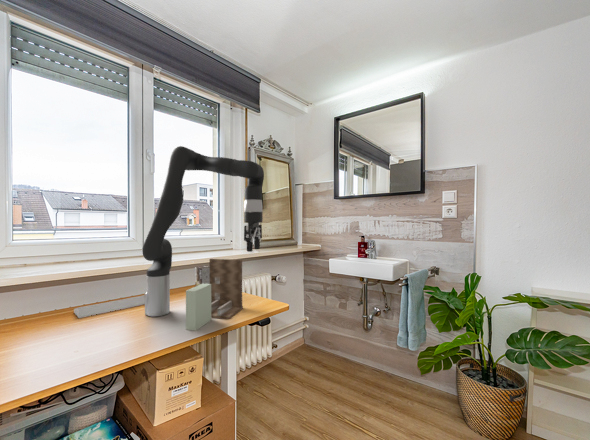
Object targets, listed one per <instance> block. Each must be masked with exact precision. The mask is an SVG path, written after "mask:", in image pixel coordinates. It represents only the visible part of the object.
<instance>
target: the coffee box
mask: <svg viewBox="0 0 590 440" xmlns="http://www.w3.org/2000/svg"><path fill="white" fill-rule="evenodd" d="M194 280H195V281H194V285H195V286H194V287H196V286H198V285H200V284H210V265H199V266H198V265H197V266H194Z"/></svg>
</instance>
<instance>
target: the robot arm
mask: <svg viewBox="0 0 590 440" xmlns="http://www.w3.org/2000/svg"><path fill="white" fill-rule="evenodd" d="M186 171H206V172H213V173H215V174H219V175H220V174H221V175H226V176H230V177H231V176H232V177H241V178H244V179H247V182H248V183H247V186H246V187H245V189H244V204H243V214H244V215H243V221H244V223H245V224H246V223H247V225H244V227H243V228H244V229H243V241H244V242H246V251H247V252H248V253H249V252H250V253H251V252H253V250H259V249H260V248H261V244H260V243H261V242H260V241H261V239H262V238H263V234H262V230H263V229H262V228H263V227H262V224H261V223H263V219H264V218H263V215H264V214H263V213H264V212H263V211H264V210H263V185H264V180H265V172H264V171H265V170H264V168H263V166H262V165H260V164H259V163H257V162H255V161H251V160H245V159H244V160H242V159H239V160H238V159H235V158H231V157H230V158H229V157H224V156H223V157H221V156H217V157H216V156H215V157H214V156H209V155H208V156H207V155H205V154H201V153H198V152H196V151H194V150H192V149H191V148H188V147H186V146H181V145H180V146H176V147H175V148H174V149H173V151H172V152H171V155H170V157H169V163H168V168H167V174H166V178H165V181H164V184H163V189H162V191H161V194H160V198H159V201H158V204H157V208H156V211H155V214H154V217H153V220H152V222H151V223H152V224H151V227H150V229H149V231H148V234H147V236H146V239H145V241H144V243H143V246H142V251H141V252H142V256H143V258H144V259H145V260H147V261H148V262H149V261H150V262H152V264H151V266H149V267H148V268H147V270H146V292H145V293H144V295H145V304H144V315H146V316H148V317H161V316H165V315H167V314H169V313H170V312H171V309H170V304H171V303H170V302H171V299H170V298H171V297H170V294H171V293H170V289H171V288H170V287H171V286H170V284H171V283H170V280H171V279H170V274H171V273H170V272H171V269H172V263H173V259H172V258H173V247H172V243H171V242H170V241H169V240H168V239H166V238H165V237H166V235H167V232H168V230H169V229H170V228H171V227H172V225H173V224H174V223H175V221H176V220H177V218H178V217H179V215H180V213H181V209H182V206H183V203H184V192H183V180H184V175H185V172H186ZM259 223H260V224H259ZM253 240H254V241H253ZM253 245H254V247H253ZM253 248H254V249H253Z"/></svg>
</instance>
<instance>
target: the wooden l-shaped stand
mask: <svg viewBox="0 0 590 440" xmlns="http://www.w3.org/2000/svg"><path fill="white" fill-rule="evenodd" d="M209 266H210V284H211V319H222V320H223V319H225V320H229V319H231V318H232V317H233V316H235V315H236V314H237V313H239V312H240V311H241V310H242V309H243V308H244V306H243V259H235V258H233V259H229V258H228V259H227V258H209Z"/></svg>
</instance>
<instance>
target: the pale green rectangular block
mask: <svg viewBox="0 0 590 440" xmlns="http://www.w3.org/2000/svg"><path fill="white" fill-rule="evenodd" d="M210 321H212V318H211V284H200V285H198V286H196V287H195V286H194V287H191V288H188V289H187V290H185V330H186V331H193V330H195V332H196V331H197V330H199V329H200V328H201V327H203V326H204V325H205V324H208V323H209V322H210Z"/></svg>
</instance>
